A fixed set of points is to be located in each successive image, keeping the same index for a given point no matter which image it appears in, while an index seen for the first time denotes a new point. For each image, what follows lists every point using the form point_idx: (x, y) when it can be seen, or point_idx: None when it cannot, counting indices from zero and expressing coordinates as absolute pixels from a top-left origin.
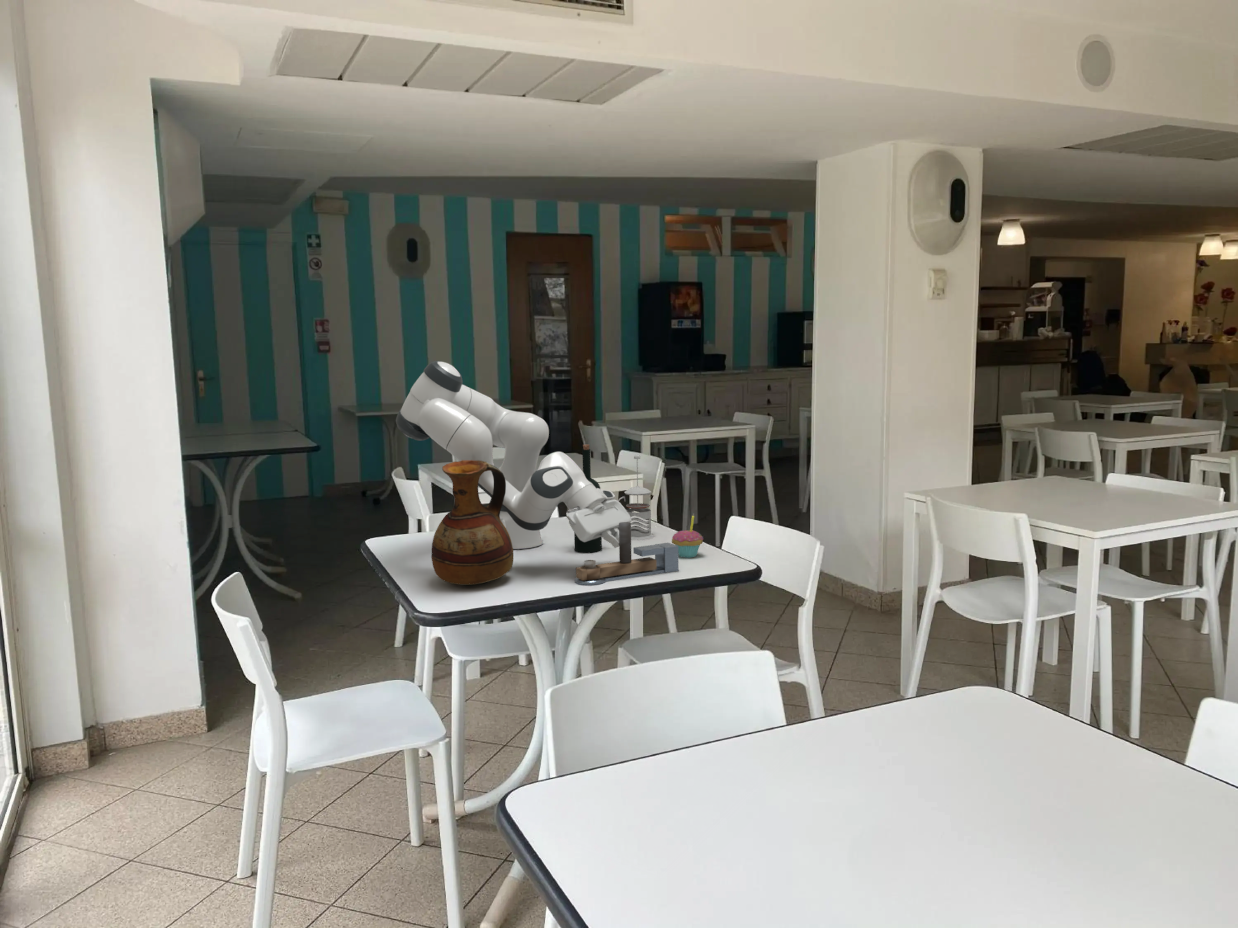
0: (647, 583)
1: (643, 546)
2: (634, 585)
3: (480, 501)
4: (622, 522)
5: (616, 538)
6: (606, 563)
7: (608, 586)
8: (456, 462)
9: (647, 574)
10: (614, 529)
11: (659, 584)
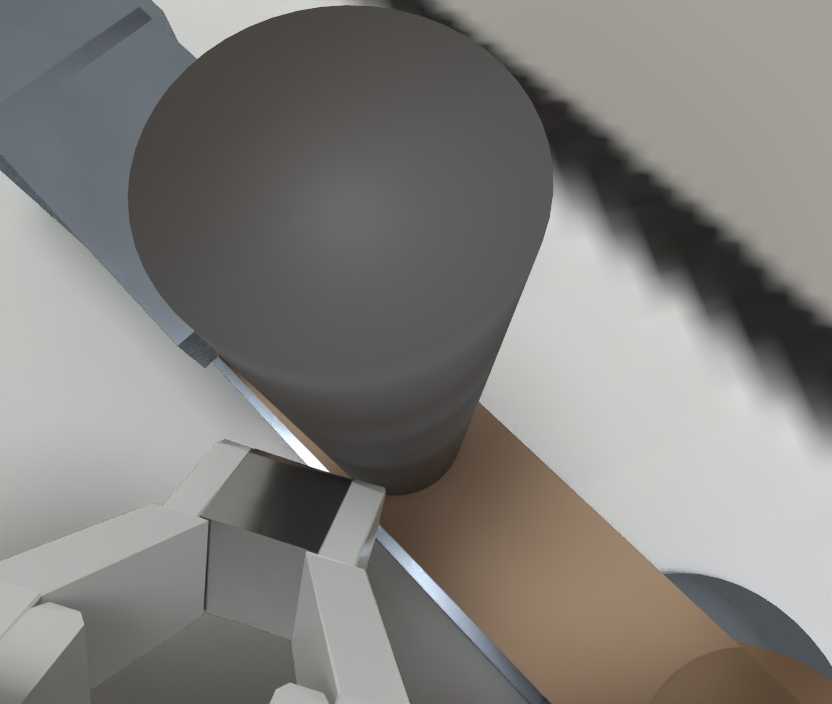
0: (584, 223)
1: (108, 239)
2: (675, 298)
3: None
4: (216, 285)
5: (304, 545)
6: (502, 635)
7: (787, 495)
8: None
9: None
10: (35, 675)
11: (584, 140)
